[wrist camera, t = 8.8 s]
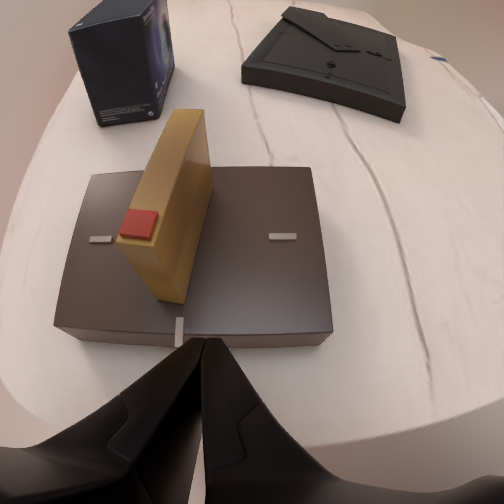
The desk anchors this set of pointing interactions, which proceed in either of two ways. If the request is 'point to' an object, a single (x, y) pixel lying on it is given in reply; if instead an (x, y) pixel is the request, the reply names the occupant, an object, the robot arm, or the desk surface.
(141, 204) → the yellow rectangular slab
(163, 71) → the small box
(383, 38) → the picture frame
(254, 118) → the desk surface
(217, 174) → the plate
